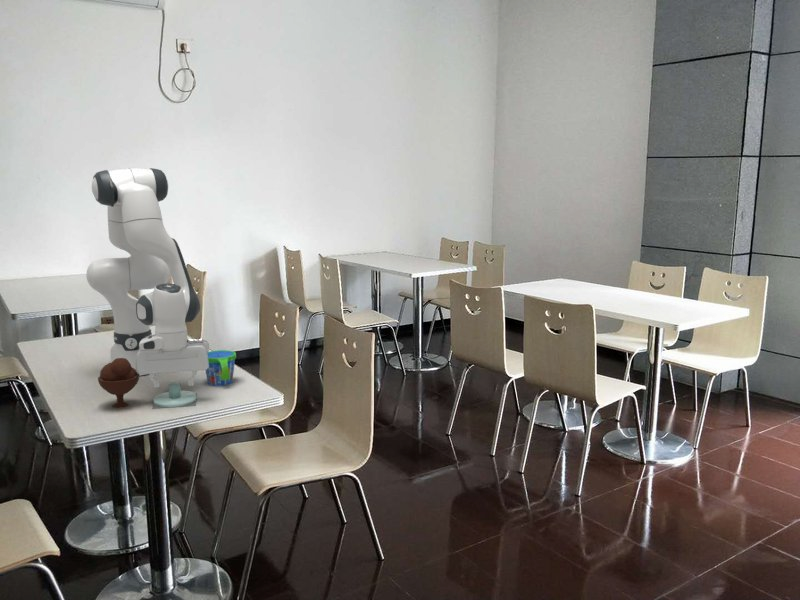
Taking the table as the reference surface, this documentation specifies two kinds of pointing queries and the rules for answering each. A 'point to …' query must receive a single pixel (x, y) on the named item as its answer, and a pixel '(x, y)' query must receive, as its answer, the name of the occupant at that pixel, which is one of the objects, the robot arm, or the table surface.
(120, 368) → the ice cream bowl
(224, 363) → the snack cup
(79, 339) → the table surface
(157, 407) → the mat
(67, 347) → the table surface
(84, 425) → the table surface
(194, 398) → the lid
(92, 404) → the table surface
